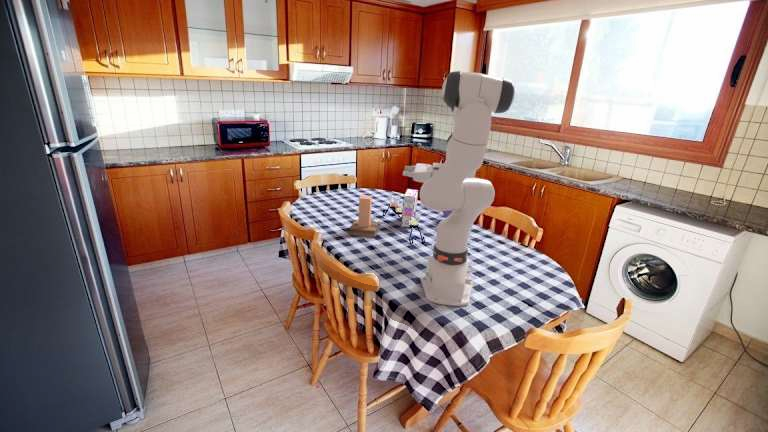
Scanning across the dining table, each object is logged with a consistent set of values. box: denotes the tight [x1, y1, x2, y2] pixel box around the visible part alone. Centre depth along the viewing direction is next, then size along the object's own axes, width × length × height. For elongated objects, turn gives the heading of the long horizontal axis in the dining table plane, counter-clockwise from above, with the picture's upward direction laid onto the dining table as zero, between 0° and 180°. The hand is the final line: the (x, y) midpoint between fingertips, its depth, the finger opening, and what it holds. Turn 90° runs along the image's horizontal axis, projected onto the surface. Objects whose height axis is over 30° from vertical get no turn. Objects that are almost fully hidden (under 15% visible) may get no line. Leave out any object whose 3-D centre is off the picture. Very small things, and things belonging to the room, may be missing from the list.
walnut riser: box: [348, 219, 380, 238], centre depth 179 cm, size 12×12×3 cm
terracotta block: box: [358, 194, 373, 228], centre depth 177 cm, size 5×5×14 cm
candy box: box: [400, 188, 419, 229], centre depth 191 cm, size 14×6×16 cm, turn 168°
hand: (403, 170), depth 163 cm, fingers open, 8 cm apart
